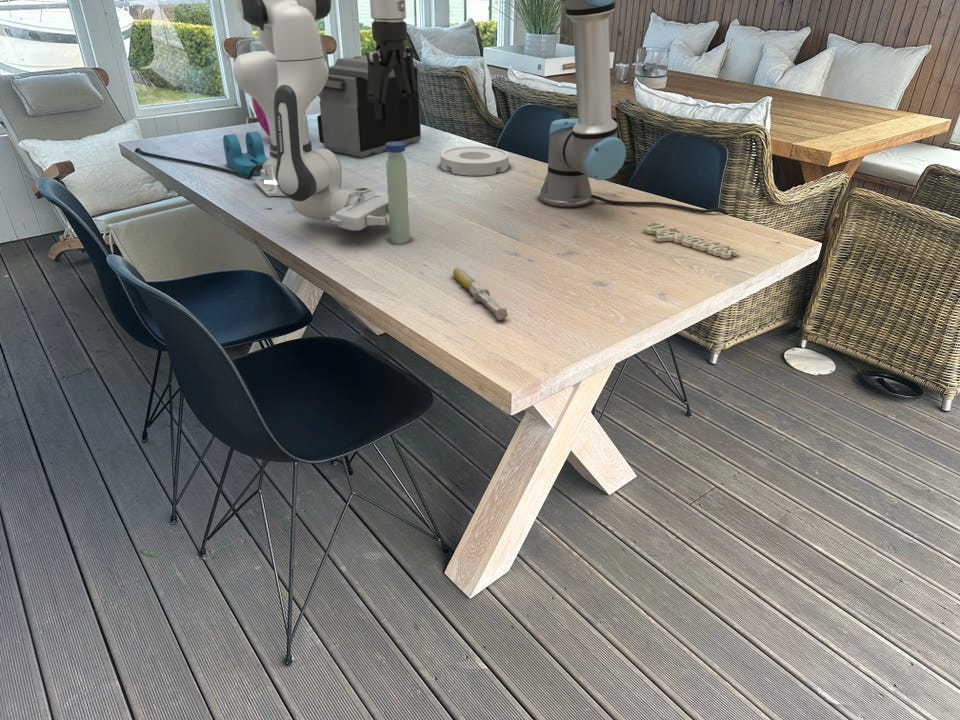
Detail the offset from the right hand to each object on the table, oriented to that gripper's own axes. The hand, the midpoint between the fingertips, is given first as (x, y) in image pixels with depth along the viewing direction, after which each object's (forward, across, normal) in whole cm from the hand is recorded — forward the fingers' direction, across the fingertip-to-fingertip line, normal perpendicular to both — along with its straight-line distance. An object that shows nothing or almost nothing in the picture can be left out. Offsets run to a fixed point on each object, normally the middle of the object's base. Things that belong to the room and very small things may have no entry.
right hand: (394, 129), depth 160 cm
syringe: (+27, -17, -34) cm, 47 cm away
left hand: (+21, 0, +1) cm, 21 cm away
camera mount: (+27, +25, +82) cm, 90 cm away
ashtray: (+27, +70, +22) cm, 78 cm away
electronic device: (+27, +72, +70) cm, 104 cm away
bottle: (+27, 0, 0) cm, 27 cm away
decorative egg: (+27, +60, +104) cm, 123 cm away
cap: (+4, 0, 0) cm, 4 cm away
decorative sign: (+27, +39, -61) cm, 77 cm away
